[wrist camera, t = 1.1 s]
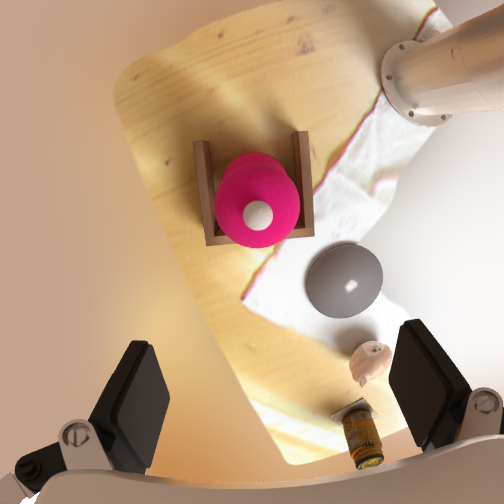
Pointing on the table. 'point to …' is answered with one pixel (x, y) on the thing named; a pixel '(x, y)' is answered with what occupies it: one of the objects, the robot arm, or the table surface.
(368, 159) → the table surface
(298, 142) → the cradle
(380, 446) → the condiment
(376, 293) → the coaster
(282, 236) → the pepper mill
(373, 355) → the beige plush toy
